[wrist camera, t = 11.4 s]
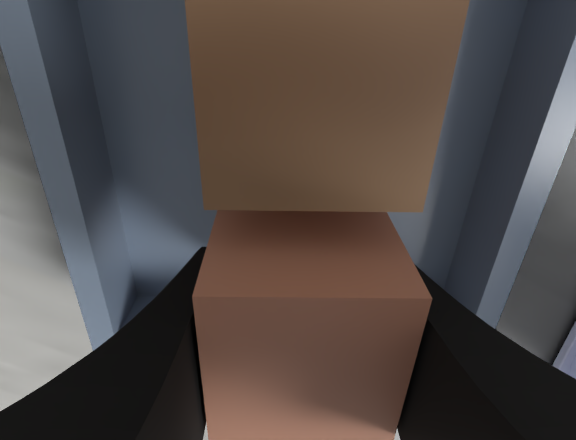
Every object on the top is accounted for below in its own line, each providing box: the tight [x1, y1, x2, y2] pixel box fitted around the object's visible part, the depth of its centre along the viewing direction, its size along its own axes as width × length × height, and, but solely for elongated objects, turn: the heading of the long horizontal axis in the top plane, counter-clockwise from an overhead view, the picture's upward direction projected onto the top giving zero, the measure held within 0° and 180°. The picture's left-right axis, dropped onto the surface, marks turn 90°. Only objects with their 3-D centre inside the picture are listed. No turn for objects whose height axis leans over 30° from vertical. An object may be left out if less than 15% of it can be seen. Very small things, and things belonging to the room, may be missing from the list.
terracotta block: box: [192, 210, 432, 440], centre depth 10 cm, size 4×4×5 cm
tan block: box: [185, 0, 470, 212], centre depth 8 cm, size 4×4×5 cm
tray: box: [0, 0, 576, 351], centre depth 11 cm, size 13×13×3 cm
